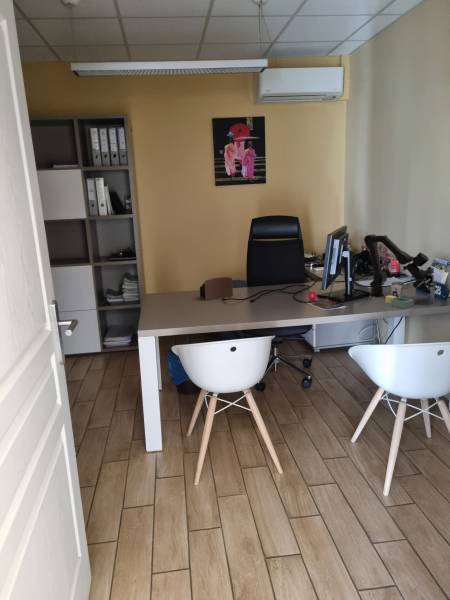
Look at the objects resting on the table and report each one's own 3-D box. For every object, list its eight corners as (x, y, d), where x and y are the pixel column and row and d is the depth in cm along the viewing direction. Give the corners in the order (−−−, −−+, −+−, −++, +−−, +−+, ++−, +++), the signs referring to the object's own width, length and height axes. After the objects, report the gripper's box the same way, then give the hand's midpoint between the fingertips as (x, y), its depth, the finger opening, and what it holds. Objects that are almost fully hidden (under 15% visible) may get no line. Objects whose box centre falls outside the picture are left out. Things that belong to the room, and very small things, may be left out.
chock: (385, 302, 280) (385, 296, 279) (389, 301, 282) (389, 295, 281) (392, 304, 276) (393, 297, 275) (396, 303, 278) (396, 296, 277)
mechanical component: (408, 298, 288) (409, 282, 285) (391, 298, 290) (392, 282, 287) (407, 297, 290) (408, 281, 288) (390, 297, 292) (391, 281, 290)
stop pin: (424, 303, 276) (426, 283, 273) (428, 301, 278) (430, 282, 276) (431, 304, 273) (433, 284, 270) (435, 303, 275) (436, 283, 272)
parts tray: (390, 305, 273) (391, 299, 272) (399, 303, 278) (399, 296, 277) (404, 308, 266) (405, 302, 265) (413, 305, 271) (413, 299, 270)
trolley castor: (389, 301, 283) (389, 286, 280) (394, 299, 286) (395, 284, 284) (396, 302, 279) (397, 287, 276) (402, 301, 282) (403, 285, 280)
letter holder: (233, 297, 307) (232, 276, 304) (205, 301, 300) (204, 279, 296) (226, 294, 316) (226, 273, 313) (199, 297, 308) (198, 277, 305)
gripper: (419, 265, 266) (437, 286, 261) (431, 260, 279) (449, 280, 274) (405, 277, 273) (422, 297, 269) (417, 272, 286) (434, 292, 282)
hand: (433, 291), depth 273 cm, fingers open, 9 cm apart
